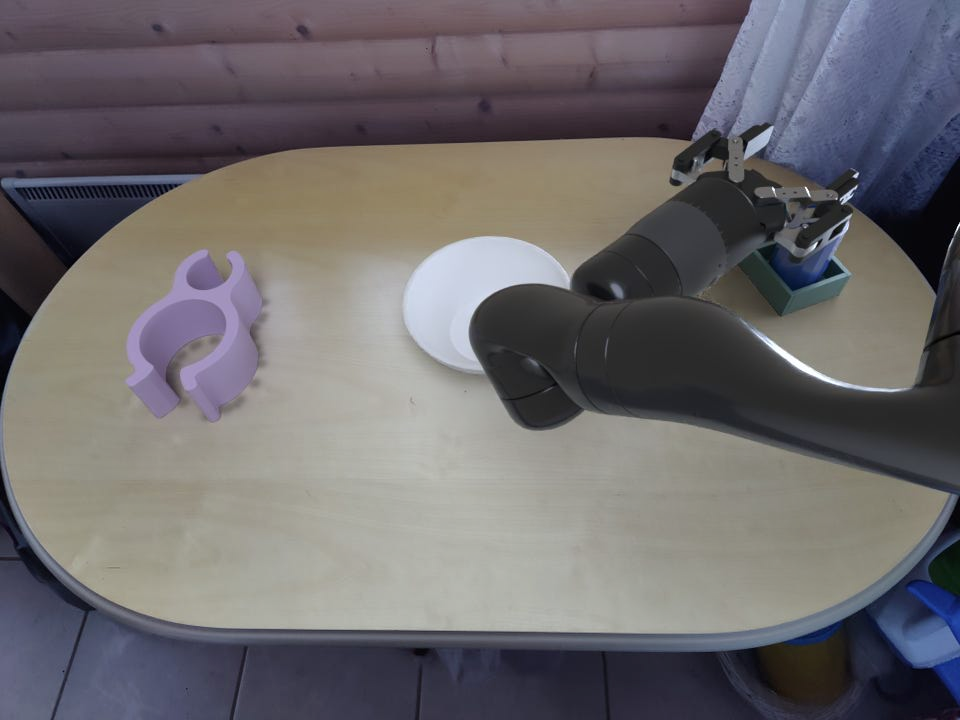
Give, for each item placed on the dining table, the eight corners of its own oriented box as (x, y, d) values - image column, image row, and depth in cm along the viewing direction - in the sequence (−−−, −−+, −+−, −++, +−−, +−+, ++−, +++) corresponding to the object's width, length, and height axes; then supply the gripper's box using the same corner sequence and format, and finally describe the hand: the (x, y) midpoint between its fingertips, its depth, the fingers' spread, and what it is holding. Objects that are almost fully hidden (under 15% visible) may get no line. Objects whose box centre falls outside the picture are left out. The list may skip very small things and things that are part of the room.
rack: (780, 316, 82) (791, 296, 79) (708, 228, 91) (714, 206, 87) (839, 295, 83) (852, 274, 80) (762, 210, 92) (770, 188, 89)
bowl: (529, 428, 75) (529, 396, 69) (379, 365, 81) (369, 331, 75) (595, 303, 84) (600, 265, 79) (457, 255, 90) (453, 217, 85)
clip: (193, 284, 90) (171, 247, 84) (284, 289, 88) (267, 252, 83) (134, 416, 79) (103, 384, 73) (237, 424, 77) (214, 392, 72)
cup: (827, 280, 84) (860, 220, 75) (794, 304, 82) (825, 246, 73) (786, 251, 86) (814, 191, 78) (754, 274, 85) (779, 215, 76)
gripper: (773, 261, 48) (902, 158, 53) (625, 164, 55) (753, 81, 60) (745, 326, 54) (863, 227, 60) (614, 232, 61) (731, 151, 66)
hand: (808, 154), depth 60 cm, fingers open, 8 cm apart
